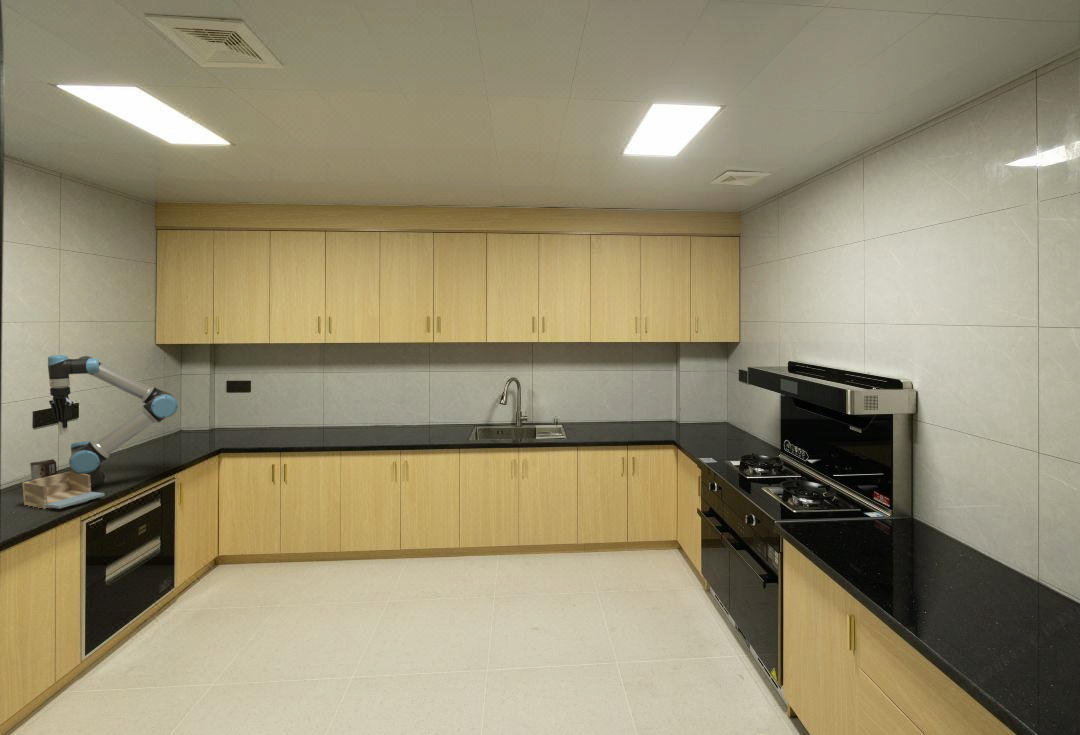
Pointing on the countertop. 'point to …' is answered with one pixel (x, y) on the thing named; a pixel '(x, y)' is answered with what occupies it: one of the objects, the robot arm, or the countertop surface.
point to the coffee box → (43, 469)
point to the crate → (55, 488)
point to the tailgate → (75, 500)
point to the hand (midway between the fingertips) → (63, 434)
